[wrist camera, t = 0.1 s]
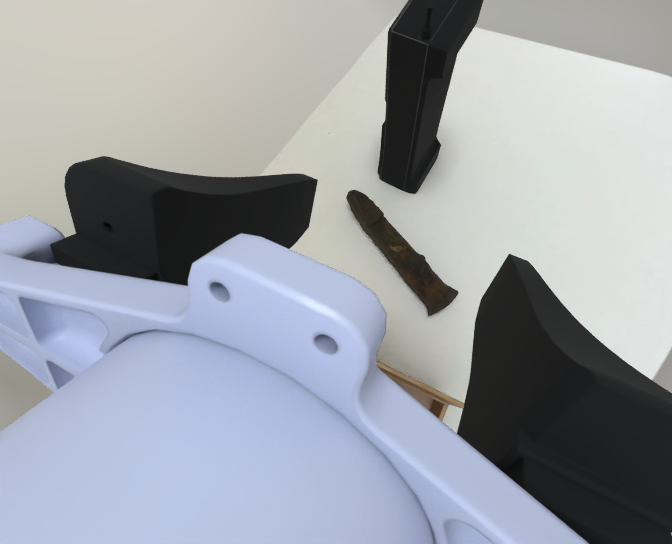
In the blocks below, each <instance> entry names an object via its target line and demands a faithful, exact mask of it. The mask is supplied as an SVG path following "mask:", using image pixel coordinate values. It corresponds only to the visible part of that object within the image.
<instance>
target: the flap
mask: <svg viewBox="0 0 672 544" xmlns="http://www.w3.org/2000/svg"><path fill="white" fill-rule="evenodd" d="M376 363H377V366H378V367H379V369H380V370H381V371H383V372H385V373H387V374H389V375H391V376H393V377H395V378H397V379H399V380H401V381H403V382H405V383H407V384H409V385H411V386H413V387H415V388H417V389H419V390H421V391H423V392H425V393H427V394H429V395H431V396H433V397H435V398H437V399H439V400H441V401H443V402H445V403H447V404H449V405H453V406H456V407H459V408H464V403H462V402H460V401H458V400H456V399H454V398H452V397H450V396H448V395H446V394H443V393H441V392H439V391H437V390H435V389H433V388H431V387H429V386H427V385H425V384H423V383H421V382H419V381H417V380H415V379H413V378H411V377H409V376H407V375H405V374H403V373H401V372H398V371H396V370H394V369H392V368H390V367H388V366H386V365H384V364H382V363H380V362H378V361H376Z"/></svg>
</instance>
